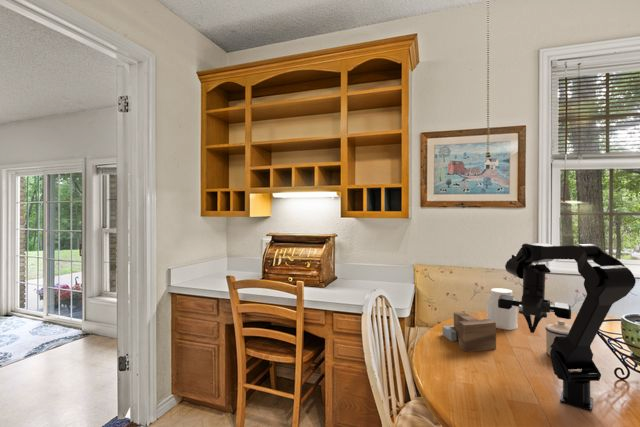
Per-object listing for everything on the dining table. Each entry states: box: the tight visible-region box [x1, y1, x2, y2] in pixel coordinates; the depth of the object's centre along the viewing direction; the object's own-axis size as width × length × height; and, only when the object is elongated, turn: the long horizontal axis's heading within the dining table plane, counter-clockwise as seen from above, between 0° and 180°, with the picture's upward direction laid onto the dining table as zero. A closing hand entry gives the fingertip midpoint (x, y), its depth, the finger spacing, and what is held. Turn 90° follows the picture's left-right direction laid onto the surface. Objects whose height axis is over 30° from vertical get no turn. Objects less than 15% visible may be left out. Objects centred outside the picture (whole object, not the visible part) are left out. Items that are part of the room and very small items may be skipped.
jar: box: [486, 287, 519, 331], centre depth 145 cm, size 12×10×15 cm
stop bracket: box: [442, 324, 457, 342], centre depth 133 cm, size 6×11×4 cm, turn 99°
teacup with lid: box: [545, 319, 572, 356], centre depth 116 cm, size 12×9×12 cm
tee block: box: [453, 311, 497, 353], centre depth 127 cm, size 14×12×10 cm
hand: (532, 332), depth 106 cm, fingers closed
